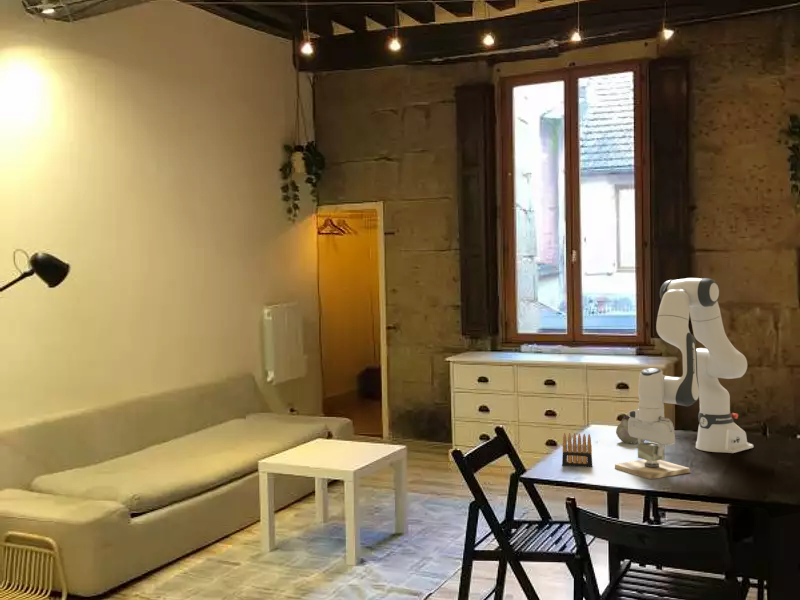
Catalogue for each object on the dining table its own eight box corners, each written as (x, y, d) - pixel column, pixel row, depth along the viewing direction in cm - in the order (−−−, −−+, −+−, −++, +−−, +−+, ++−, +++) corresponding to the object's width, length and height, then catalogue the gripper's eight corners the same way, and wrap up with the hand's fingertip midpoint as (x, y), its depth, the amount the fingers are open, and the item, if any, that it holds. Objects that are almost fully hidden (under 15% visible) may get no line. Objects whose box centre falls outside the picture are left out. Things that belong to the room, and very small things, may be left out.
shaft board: (653, 462, 321) (653, 437, 320) (689, 472, 304) (689, 446, 304) (614, 468, 313) (614, 443, 312) (650, 479, 296) (649, 453, 296)
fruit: (613, 443, 353) (613, 414, 352) (620, 439, 361) (620, 410, 360) (638, 446, 347) (638, 416, 347) (645, 441, 355) (645, 412, 355)
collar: (651, 455, 313) (651, 441, 312) (664, 459, 307) (664, 444, 307) (638, 457, 310) (637, 443, 309) (650, 461, 304) (650, 447, 304)
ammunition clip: (592, 466, 317) (592, 433, 316) (591, 467, 315) (591, 434, 314) (562, 464, 320) (562, 432, 320) (562, 465, 318) (561, 433, 318)
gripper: (679, 418, 300) (679, 458, 300) (638, 409, 318) (638, 447, 319) (665, 420, 297) (665, 460, 298) (624, 411, 315) (625, 449, 316)
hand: (651, 453), depth 308 cm, fingers closed on collar, 6 cm apart
